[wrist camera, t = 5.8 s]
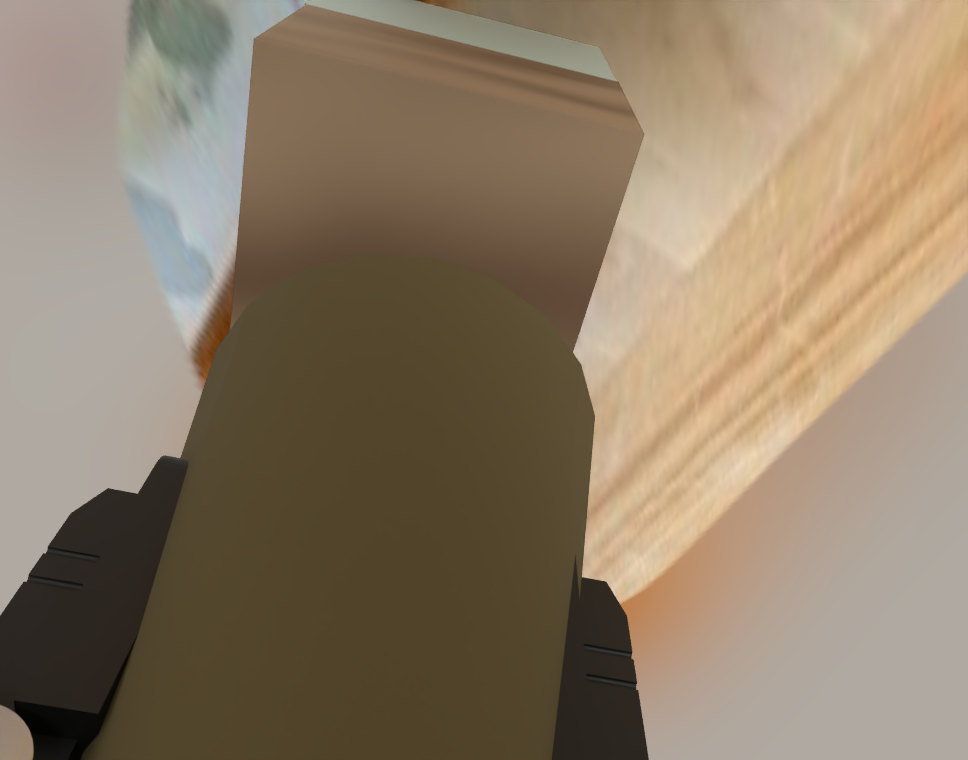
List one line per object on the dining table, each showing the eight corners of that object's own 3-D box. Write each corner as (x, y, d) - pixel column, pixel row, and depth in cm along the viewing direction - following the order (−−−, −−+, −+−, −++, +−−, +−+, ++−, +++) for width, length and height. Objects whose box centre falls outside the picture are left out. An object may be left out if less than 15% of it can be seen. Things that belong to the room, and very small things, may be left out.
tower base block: (340, -20, 25) (305, 3, 21) (599, 46, 26) (616, 80, 22) (308, 228, 29) (273, 290, 25) (532, 279, 30) (536, 347, 26)
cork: (405, 627, 15) (233, 1827, 6) (127, 422, 13) (-837, 1798, 4) (675, 445, 13) (1089, 1913, 4) (393, 162, 11) (-355, 1967, 2)
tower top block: (306, 4, 21) (254, 38, 17) (618, 81, 22) (644, 133, 17) (275, 291, 25) (226, 378, 21) (537, 348, 26) (542, 444, 21)
